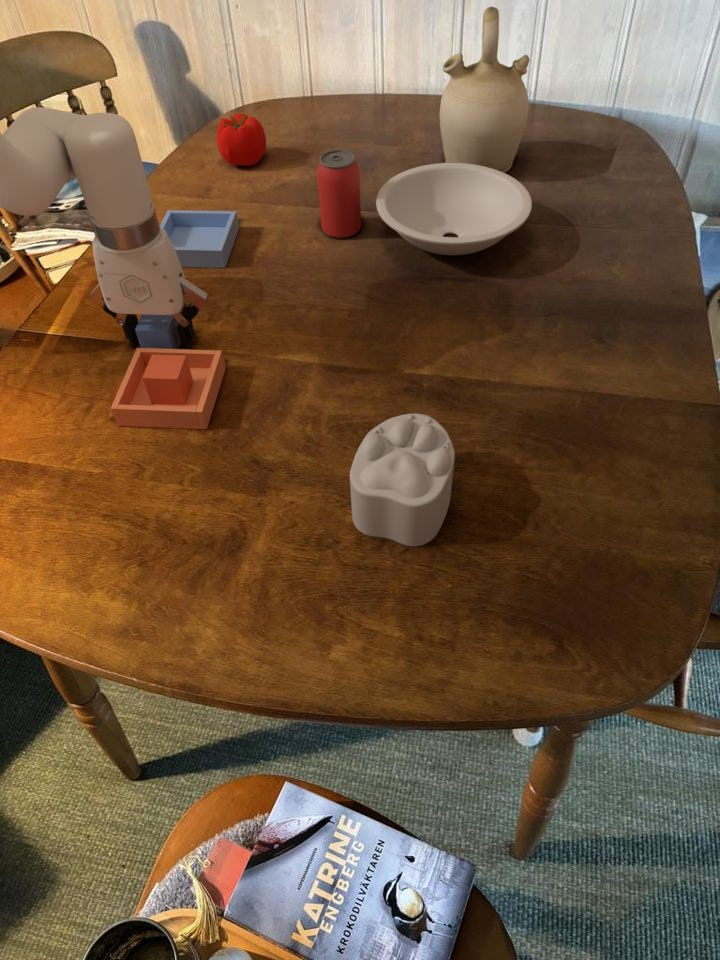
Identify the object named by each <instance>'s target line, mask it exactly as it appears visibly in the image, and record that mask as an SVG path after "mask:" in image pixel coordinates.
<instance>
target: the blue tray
mask: <svg viewBox="0 0 720 960" xmlns="http://www.w3.org/2000/svg"><path fill="white" fill-rule="evenodd" d="M159 226H160V228H163V229H165V231H166V233H167V235H168V236H169V238H170V240H171V242H172V244H173V246H174V249H175V251H176V253H177V256H178V259H179V261H180V264H181V267H182V268H206V269H207V268H212V269H213V268H215V269H221V268H222V269H226V267H227V263H228V262H229V259H230V256H231V252H232V249H233V248H234V244H235V242H236V238H237V235H238V233H239V230H240V225H239V219H238V214H237V211H236V210H232V211H231V210H190V209H189V210H184V209H183V210H182V209H181V210H180V209H179V210H178V209H167V211H166V213H165V214H164V217H163V219H162V221H161V223H160V224H159Z"/></svg>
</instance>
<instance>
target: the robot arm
mask: <svg viewBox="0 0 720 960" xmlns="http://www.w3.org/2000/svg"><path fill="white" fill-rule="evenodd" d="M74 178H76V181H77V184H78V186H79V189H80V192H81V195H82V198H83V201H84V204H85V206H86V210H87V212H88V215H84V216H82V218H81V224H82V227H83V228H85V229H89V230H92V231H93V233H94V236H95V237H94V238H93V239H92V242H91V243H92V253H93V261H94V265H95V271H96V276H97V279H98V284H97V285H96V286H95V287H94V288H93V289H92V291H91V292H90V294H89V296H88V299H89V300H90V301H91V302H92V303H94V304H95V305H97V306H98V307H99V308H102V310H103V312H105V313H106V314H108V315H109V316H110V317H112V318H113V319H114V320H115V322H116V324H117V325H119V326H121V329H122V331H123V333H124V336H125V340H128V342H129V346H130V348H131V349H137V348H139V346H140V343H139V340H138V337H137V334H136V331H135V329H136V327H137V325H138V323H139V319H138V317H137V316H138V315H140V316H142V315H172V316H173V317H174V318H175V319H176V320H177V321H178V326H177V331H178V334H179V338H180V341H181V343H180V345H181V349H189V350H190V346H191V343H192V342H194V341H195V338H196V332H195V328H194V325H193V321H192V320H193V319H194V318H196V316H197V315H198V314H199V312H200V311H201V310H202V309H203V308H204V307H205V305H207V302H208V299H209V294H208V293H207V292H206V291H204V290H202V289H201V288H199V287H198V286H196V284H194V283H192V282H191V281H189V280H188V279H186V277H185V273H184V270H183V267H181V264H180V261H179V259H178V256H177V253H176V251H175V249H174V246H173V244H172V242H171V240H170V238H169V236H168V235H167V233H166V231H165V229H163V228H160V223H159V219H158V216H157V211H156V207H155V204H154V201H153V197H152V193H151V190H150V186H149V182H148V178H147V174H146V171H145V167H144V163H143V160H142V156H141V152H140V149H139V145H138V141H137V137H136V135H135V131H134V128H133V127H132V125H131V123H130V122H129V121H128V119H126V118H125V117H124V116H121V115H120V114H117V113H113V112H94V113H90V114H80V113H75V112H70V111H65V110H62V109H57V108H51V107H46V106H45V107H44V106H38V107H37V106H36V107H31V108H28V109H26V110H24V111H22V112H21V113H19V115H18V116H17V117H15V119H14V120H13V122H12V123H11V124H10V125H9V126H8V127H7V128H6V129H5V131H4V132H3V133H1V132H0V208H1V209H3V210H5V211H7V212H9V213H12V214H13V215H14V214H15V215H19V216H23V217H26V216H37V215H39V214H41V213H43V212H45V211H46V210H48V209H49V208H50V207H51V205H52V204H53V203H54V202H55V200H56V199H57V197H58V195H59V194H60V193H61V191H62V190H63V189H64V186H65V185H66V183H68V182H69V181H71V180H73V179H74ZM185 296H186V297H188V298H189V299H191V300H193V301H192V302H190V303H189V304H188V302H187V301H186V300H185V299H184V297H185Z"/></svg>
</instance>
